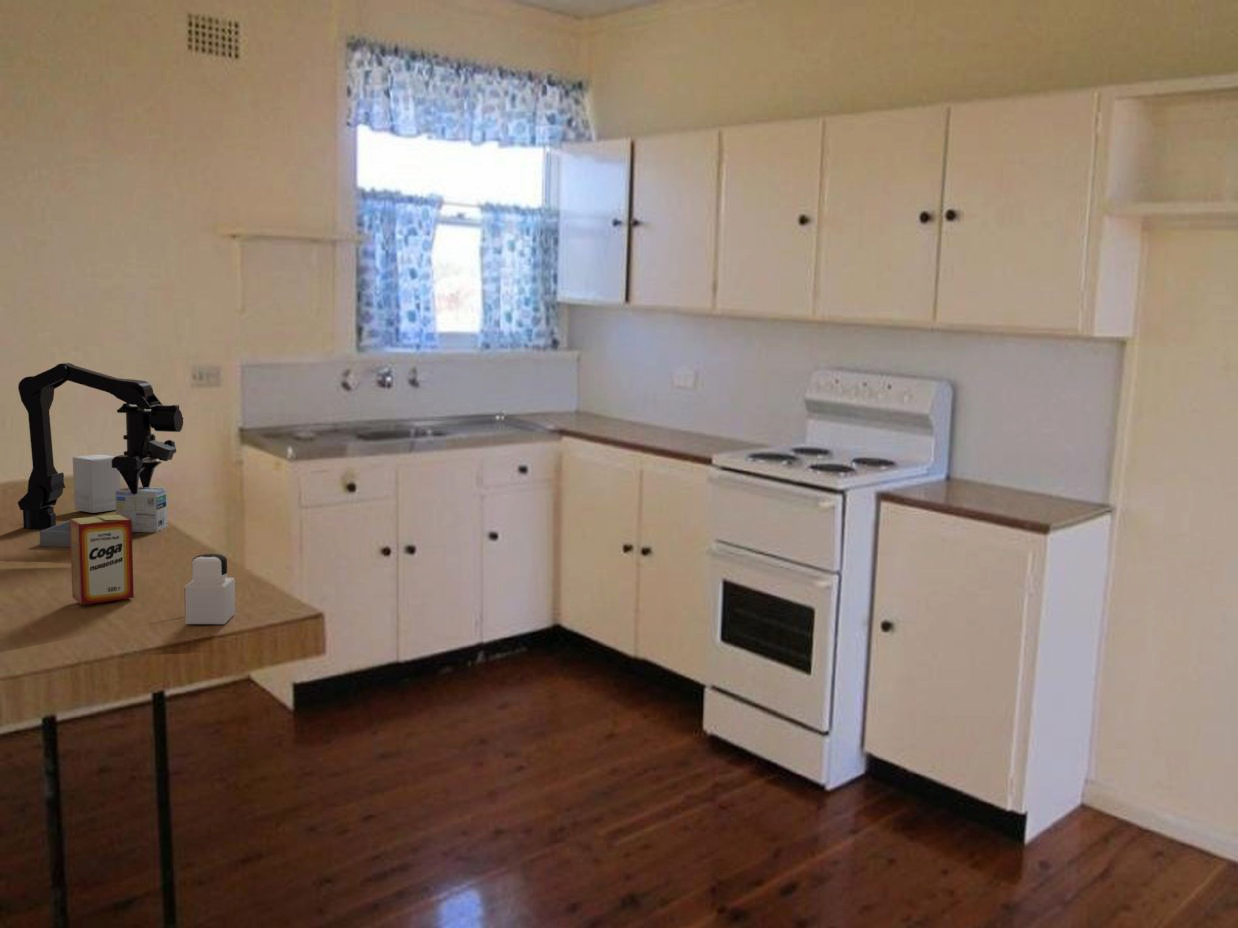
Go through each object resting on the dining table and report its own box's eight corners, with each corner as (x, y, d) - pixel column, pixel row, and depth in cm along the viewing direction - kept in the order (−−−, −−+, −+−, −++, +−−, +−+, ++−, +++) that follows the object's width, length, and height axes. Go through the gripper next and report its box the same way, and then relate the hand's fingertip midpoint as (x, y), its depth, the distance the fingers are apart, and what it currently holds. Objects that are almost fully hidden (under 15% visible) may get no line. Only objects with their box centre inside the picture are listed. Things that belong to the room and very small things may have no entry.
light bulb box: (168, 528, 279) (167, 486, 278) (157, 533, 273) (156, 491, 271) (127, 526, 279) (125, 485, 278) (115, 531, 273) (114, 489, 271)
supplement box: (122, 509, 303) (121, 456, 301) (92, 513, 295) (90, 459, 293) (103, 505, 307) (102, 453, 305) (73, 509, 300) (71, 456, 298)
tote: (40, 546, 254) (39, 531, 254) (71, 533, 269) (71, 519, 269) (105, 547, 254) (104, 533, 254) (133, 534, 270) (132, 521, 269)
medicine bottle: (196, 613, 203) (195, 551, 201) (235, 614, 203) (234, 551, 202) (184, 624, 196) (183, 559, 194) (225, 624, 196) (223, 560, 195)
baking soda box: (81, 604, 206) (78, 522, 204) (72, 597, 211) (69, 517, 209) (133, 597, 212) (131, 517, 210) (123, 590, 217) (121, 512, 215)
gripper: (155, 435, 263) (157, 498, 265) (185, 428, 282) (186, 487, 284) (109, 434, 263) (111, 497, 265) (142, 426, 282) (143, 485, 284)
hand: (140, 491), depth 275 cm, fingers closed on light bulb box, 7 cm apart
